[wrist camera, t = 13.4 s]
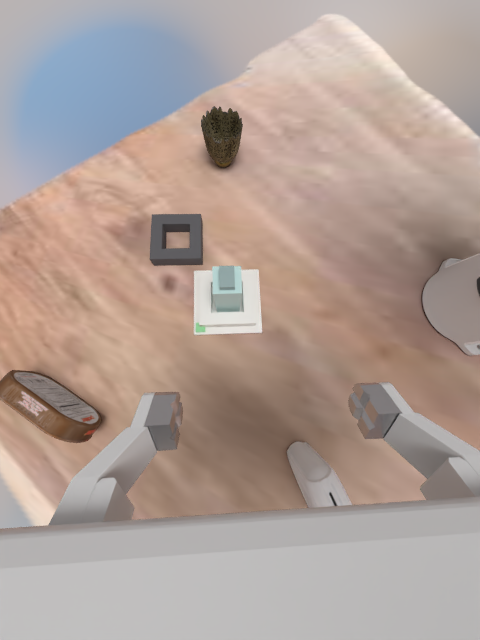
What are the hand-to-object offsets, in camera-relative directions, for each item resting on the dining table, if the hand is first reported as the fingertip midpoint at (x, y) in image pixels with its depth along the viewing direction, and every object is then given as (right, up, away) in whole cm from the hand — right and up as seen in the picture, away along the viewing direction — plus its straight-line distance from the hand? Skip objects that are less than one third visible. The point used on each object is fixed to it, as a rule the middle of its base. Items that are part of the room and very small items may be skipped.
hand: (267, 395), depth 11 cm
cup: (-5, +37, +38) cm, 53 cm away
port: (-4, +7, +31) cm, 32 cm away
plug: (-3, +7, +30) cm, 31 cm away
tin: (-29, -10, +27) cm, 41 cm away
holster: (-13, +18, +33) cm, 40 cm away
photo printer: (+10, -21, +26) cm, 35 cm away
